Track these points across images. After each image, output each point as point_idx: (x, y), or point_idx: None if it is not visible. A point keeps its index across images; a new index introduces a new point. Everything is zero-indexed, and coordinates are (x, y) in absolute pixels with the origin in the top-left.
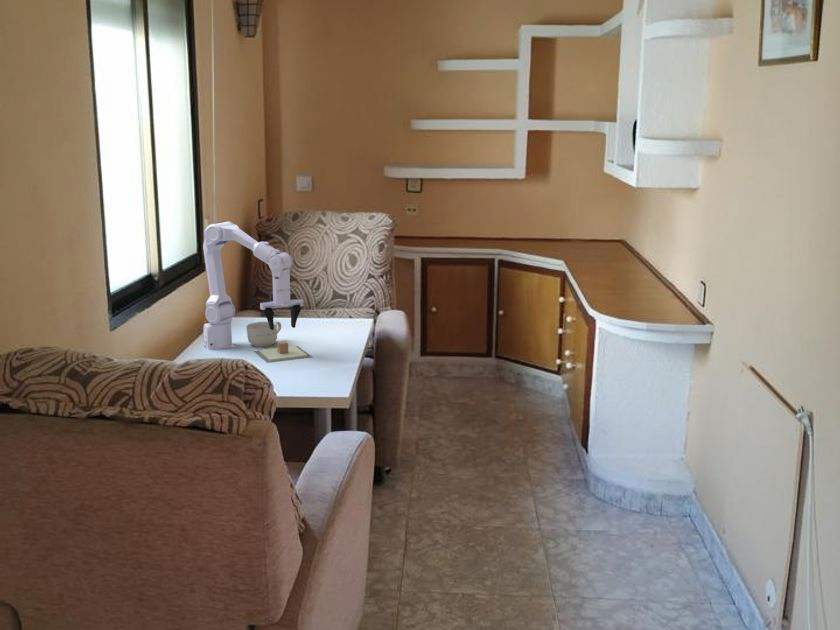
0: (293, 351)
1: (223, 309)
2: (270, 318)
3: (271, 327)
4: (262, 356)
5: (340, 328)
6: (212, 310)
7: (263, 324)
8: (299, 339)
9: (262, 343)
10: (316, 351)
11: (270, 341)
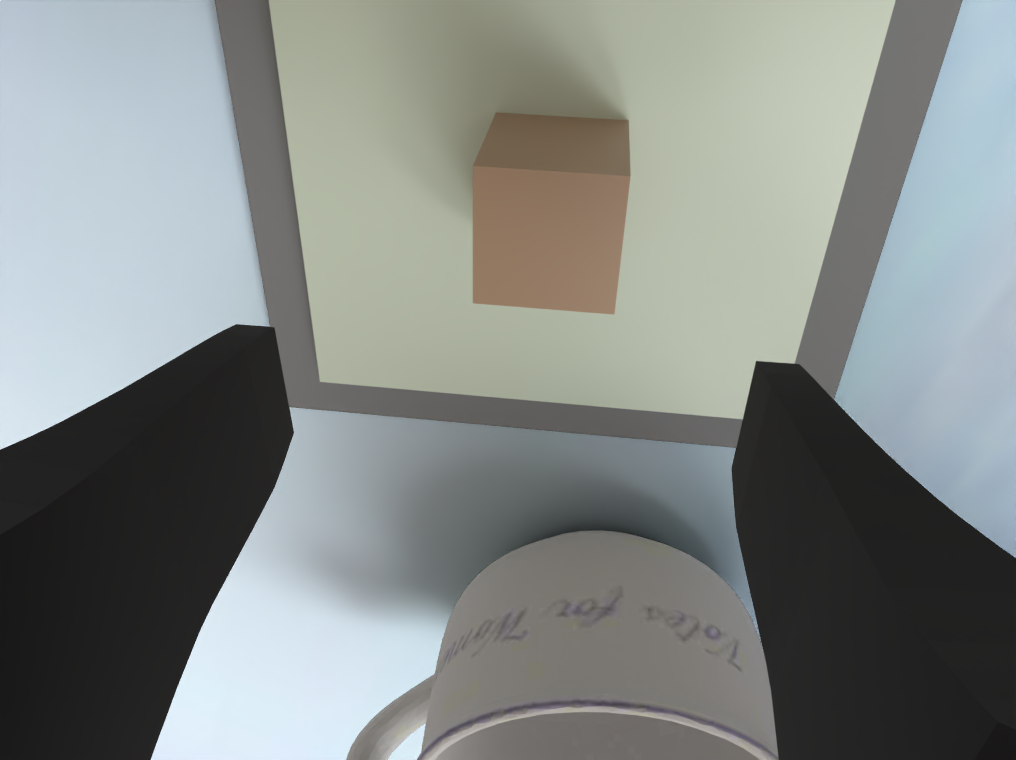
0: (404, 154)
1: None
2: (982, 552)
3: (827, 397)
4: (862, 194)
5: None
6: None
7: None
8: (217, 597)
9: (662, 547)
10: (92, 130)
11: (567, 544)
